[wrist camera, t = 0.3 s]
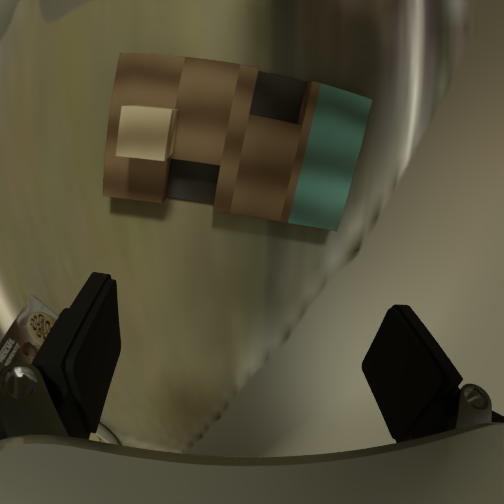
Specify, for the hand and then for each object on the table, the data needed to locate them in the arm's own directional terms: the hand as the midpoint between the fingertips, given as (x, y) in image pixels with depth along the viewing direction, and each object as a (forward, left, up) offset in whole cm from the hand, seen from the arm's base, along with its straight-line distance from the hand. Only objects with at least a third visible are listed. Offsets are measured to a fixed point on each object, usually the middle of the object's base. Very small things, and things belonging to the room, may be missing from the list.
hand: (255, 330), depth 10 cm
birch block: (-3, -9, -27) cm, 29 cm away
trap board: (-3, 0, -30) cm, 30 cm away
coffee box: (+30, -28, -30) cm, 51 cm away
